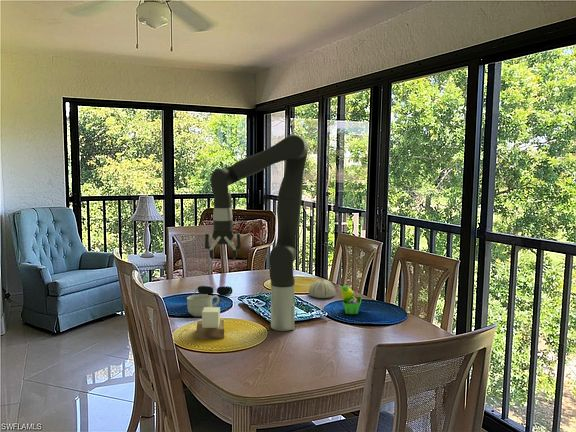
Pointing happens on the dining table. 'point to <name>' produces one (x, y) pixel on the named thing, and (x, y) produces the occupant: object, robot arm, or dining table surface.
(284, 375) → the dining table surface
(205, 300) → the teacup
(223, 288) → the sunglasses
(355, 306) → the fruit basket
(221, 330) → the walnut base
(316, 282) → the sea urchin shell
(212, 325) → the cream cube
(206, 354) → the dining table surface
